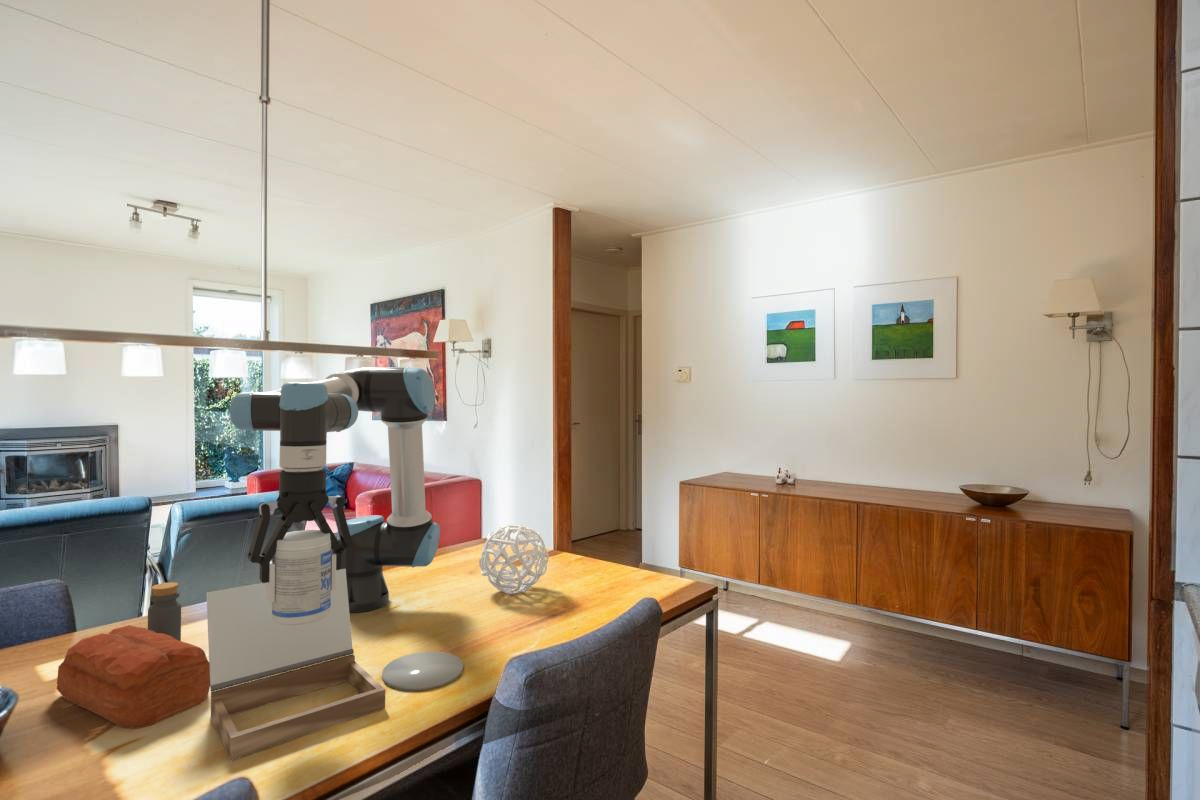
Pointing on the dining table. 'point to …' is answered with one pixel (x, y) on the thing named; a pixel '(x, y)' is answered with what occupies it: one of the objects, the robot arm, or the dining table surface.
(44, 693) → the dining table surface
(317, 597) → the supplement tub
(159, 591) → the bottle
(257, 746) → the tray
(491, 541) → the decorative ball
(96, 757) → the dining table surface
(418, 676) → the saucer
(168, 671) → the bread
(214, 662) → the lid
